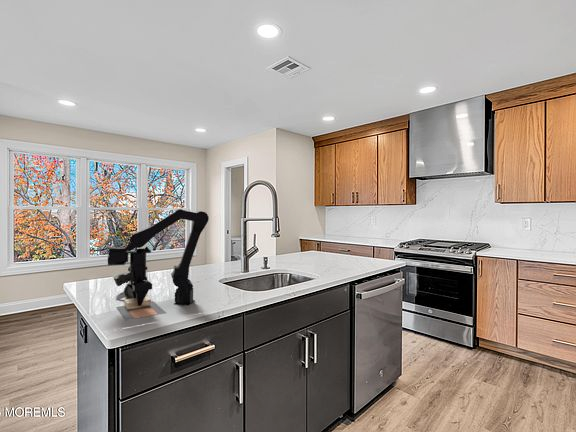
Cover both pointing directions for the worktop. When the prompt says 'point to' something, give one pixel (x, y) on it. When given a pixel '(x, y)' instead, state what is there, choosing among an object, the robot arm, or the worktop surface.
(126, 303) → the card box
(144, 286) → the robot arm
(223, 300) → the worktop surface
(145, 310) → the mat
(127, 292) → the ceramic mug
